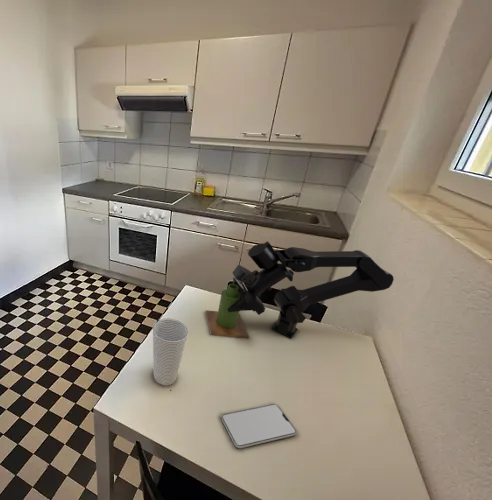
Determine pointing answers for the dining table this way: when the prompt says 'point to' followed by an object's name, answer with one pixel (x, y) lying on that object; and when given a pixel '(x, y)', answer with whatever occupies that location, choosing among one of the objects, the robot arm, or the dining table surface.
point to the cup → (168, 349)
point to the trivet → (221, 331)
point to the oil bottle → (226, 301)
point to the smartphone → (257, 425)
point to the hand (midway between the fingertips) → (225, 304)
